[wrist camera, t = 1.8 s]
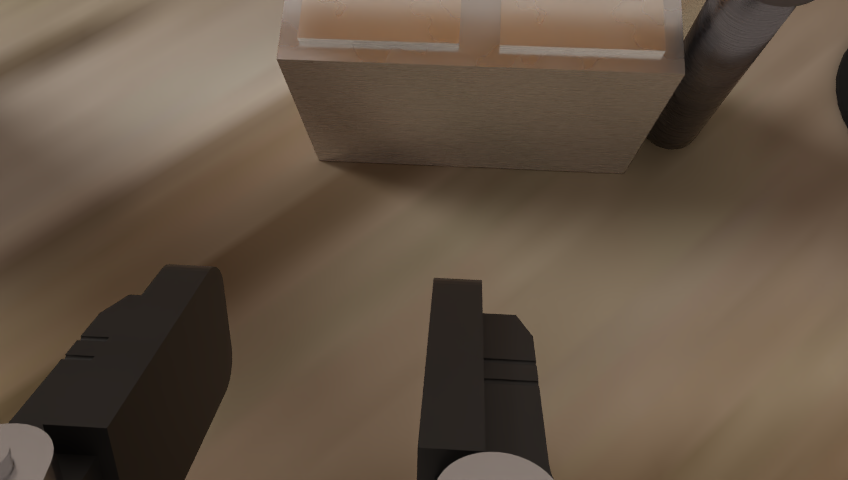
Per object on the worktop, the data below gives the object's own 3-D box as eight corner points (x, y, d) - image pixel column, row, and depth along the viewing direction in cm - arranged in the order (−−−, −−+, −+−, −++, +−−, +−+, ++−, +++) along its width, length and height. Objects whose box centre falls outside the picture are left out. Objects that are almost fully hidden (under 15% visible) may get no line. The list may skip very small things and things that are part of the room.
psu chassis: (318, 160, 38) (261, 21, 26) (330, 58, 40) (281, -115, 28) (701, 176, 37) (823, 41, 25) (695, 71, 39) (805, -102, 27)
